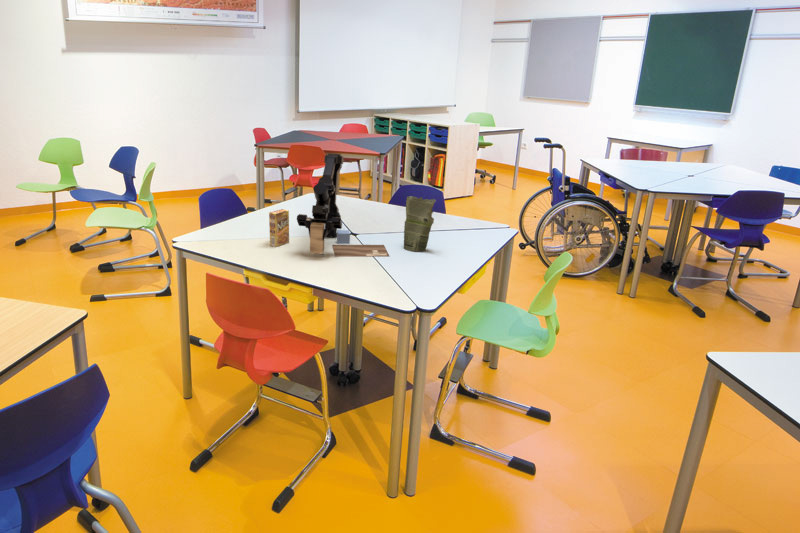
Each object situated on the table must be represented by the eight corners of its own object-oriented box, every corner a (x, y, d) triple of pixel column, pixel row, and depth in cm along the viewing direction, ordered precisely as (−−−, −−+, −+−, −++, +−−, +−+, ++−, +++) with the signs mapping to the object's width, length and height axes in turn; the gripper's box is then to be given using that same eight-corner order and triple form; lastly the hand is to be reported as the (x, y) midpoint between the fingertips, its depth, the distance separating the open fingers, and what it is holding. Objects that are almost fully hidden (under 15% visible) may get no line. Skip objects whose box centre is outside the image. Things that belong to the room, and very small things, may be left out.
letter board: (332, 245, 257) (332, 244, 256) (383, 246, 261) (383, 244, 261) (334, 257, 241) (334, 256, 241) (389, 257, 246) (389, 256, 245)
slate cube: (336, 241, 264) (337, 230, 262) (348, 241, 265) (348, 230, 263) (337, 245, 259) (338, 233, 257) (349, 245, 260) (350, 233, 258)
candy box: (276, 247, 250) (276, 213, 245) (269, 245, 252) (268, 212, 247) (289, 242, 257) (289, 210, 252) (282, 241, 259) (282, 208, 254)
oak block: (312, 249, 242) (312, 222, 238) (324, 250, 241) (324, 223, 237) (310, 252, 237) (310, 225, 233) (321, 253, 237) (322, 226, 233)
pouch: (400, 246, 262) (403, 194, 253) (423, 245, 266) (427, 193, 258) (409, 254, 252) (412, 199, 244) (433, 252, 256) (437, 199, 248)
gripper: (297, 195, 236) (291, 227, 229) (341, 198, 235) (336, 231, 228) (301, 209, 246) (295, 240, 239) (344, 212, 245) (339, 244, 238)
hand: (316, 238), depth 236 cm, fingers closed on oak block, 5 cm apart
